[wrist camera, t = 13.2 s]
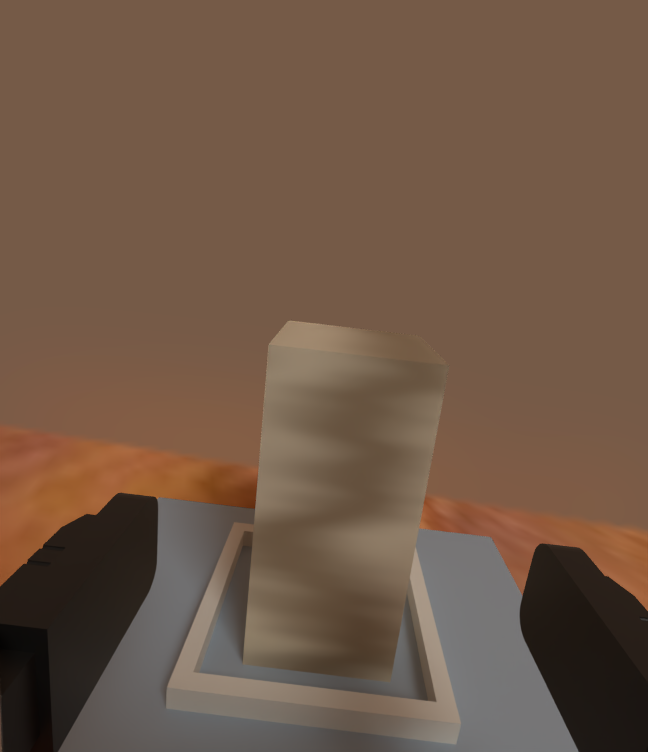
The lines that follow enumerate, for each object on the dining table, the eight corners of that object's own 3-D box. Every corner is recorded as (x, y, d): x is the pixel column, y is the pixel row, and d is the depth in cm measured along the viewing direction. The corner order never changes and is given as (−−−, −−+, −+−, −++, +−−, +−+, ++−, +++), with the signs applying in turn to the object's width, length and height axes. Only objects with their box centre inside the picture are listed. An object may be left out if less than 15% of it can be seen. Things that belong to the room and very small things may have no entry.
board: (-58, 833, 11) (-68, 764, 11) (158, 521, 25) (159, 484, 24) (657, 923, 11) (686, 859, 11) (485, 561, 25) (494, 524, 24)
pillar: (242, 664, 15) (268, 344, 13) (266, 567, 20) (288, 320, 17) (390, 682, 15) (449, 365, 13) (378, 580, 20) (418, 335, 17)
